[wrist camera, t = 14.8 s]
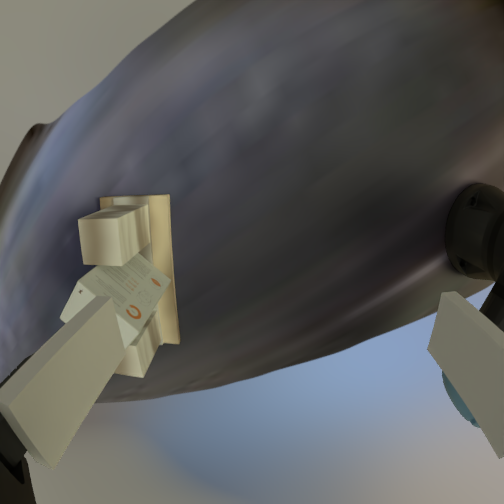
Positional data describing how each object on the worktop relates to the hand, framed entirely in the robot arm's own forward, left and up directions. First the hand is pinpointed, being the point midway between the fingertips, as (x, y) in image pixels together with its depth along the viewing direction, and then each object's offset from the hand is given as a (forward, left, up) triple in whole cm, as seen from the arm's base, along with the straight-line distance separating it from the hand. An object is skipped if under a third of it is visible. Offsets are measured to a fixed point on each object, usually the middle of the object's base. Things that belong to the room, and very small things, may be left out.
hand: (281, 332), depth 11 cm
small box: (+17, +9, -27) cm, 33 cm away
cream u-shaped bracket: (+17, +9, -28) cm, 34 cm away
